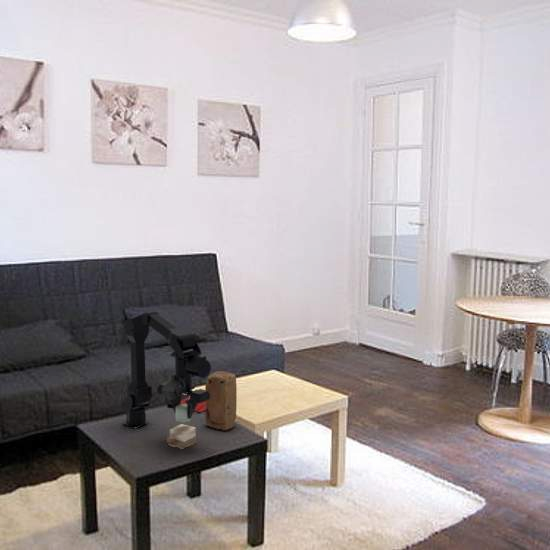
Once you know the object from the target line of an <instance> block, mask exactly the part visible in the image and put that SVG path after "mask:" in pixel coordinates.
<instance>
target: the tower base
mask: <svg viewBox="0 0 550 550" xmlns="http://www.w3.org/2000/svg"><path fill="white" fill-rule="evenodd" d="M197 437H198V436H197V435H195V437H193V438H191V439H189V440H187V441H185V442H183V441H179V440H176V439H172V438H170V435H169V436H168V437H166V444H167V443H168V444H171V445H174V446H177V447H180V448H185V447H186V446H188V445H191V444H193V443H195V442H197V441H198V439H197Z"/></svg>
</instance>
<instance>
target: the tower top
mask: <svg viewBox="0 0 550 550" xmlns="http://www.w3.org/2000/svg"><path fill="white" fill-rule="evenodd" d="M196 429H197V428H196V427H194V426H190V425H187V424H183V423H181V424H178V425H177V426H175V427H172V428H171V429H169V436H170V438H172V439H176V440H179V441H183V442H185V441H187V440H189V439H191V438H193V437H195V436H196V431H197V430H196Z"/></svg>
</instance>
